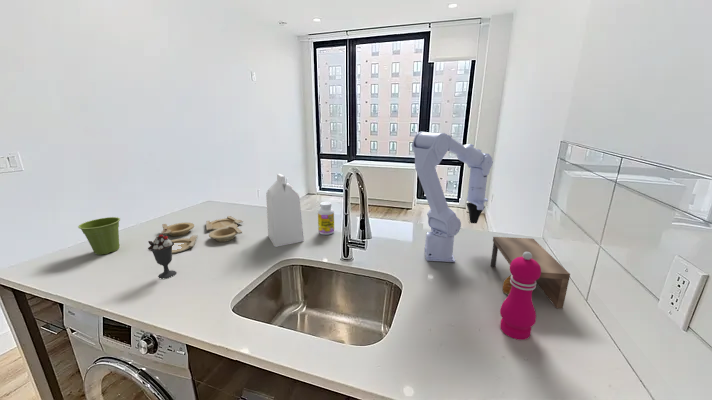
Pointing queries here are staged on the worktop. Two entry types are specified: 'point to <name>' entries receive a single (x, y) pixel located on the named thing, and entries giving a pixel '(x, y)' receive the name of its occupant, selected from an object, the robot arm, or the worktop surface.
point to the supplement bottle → (325, 219)
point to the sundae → (163, 254)
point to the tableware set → (221, 227)
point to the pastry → (507, 285)
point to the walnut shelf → (551, 271)
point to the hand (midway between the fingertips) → (473, 222)
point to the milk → (283, 213)
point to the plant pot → (102, 234)
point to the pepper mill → (520, 298)
